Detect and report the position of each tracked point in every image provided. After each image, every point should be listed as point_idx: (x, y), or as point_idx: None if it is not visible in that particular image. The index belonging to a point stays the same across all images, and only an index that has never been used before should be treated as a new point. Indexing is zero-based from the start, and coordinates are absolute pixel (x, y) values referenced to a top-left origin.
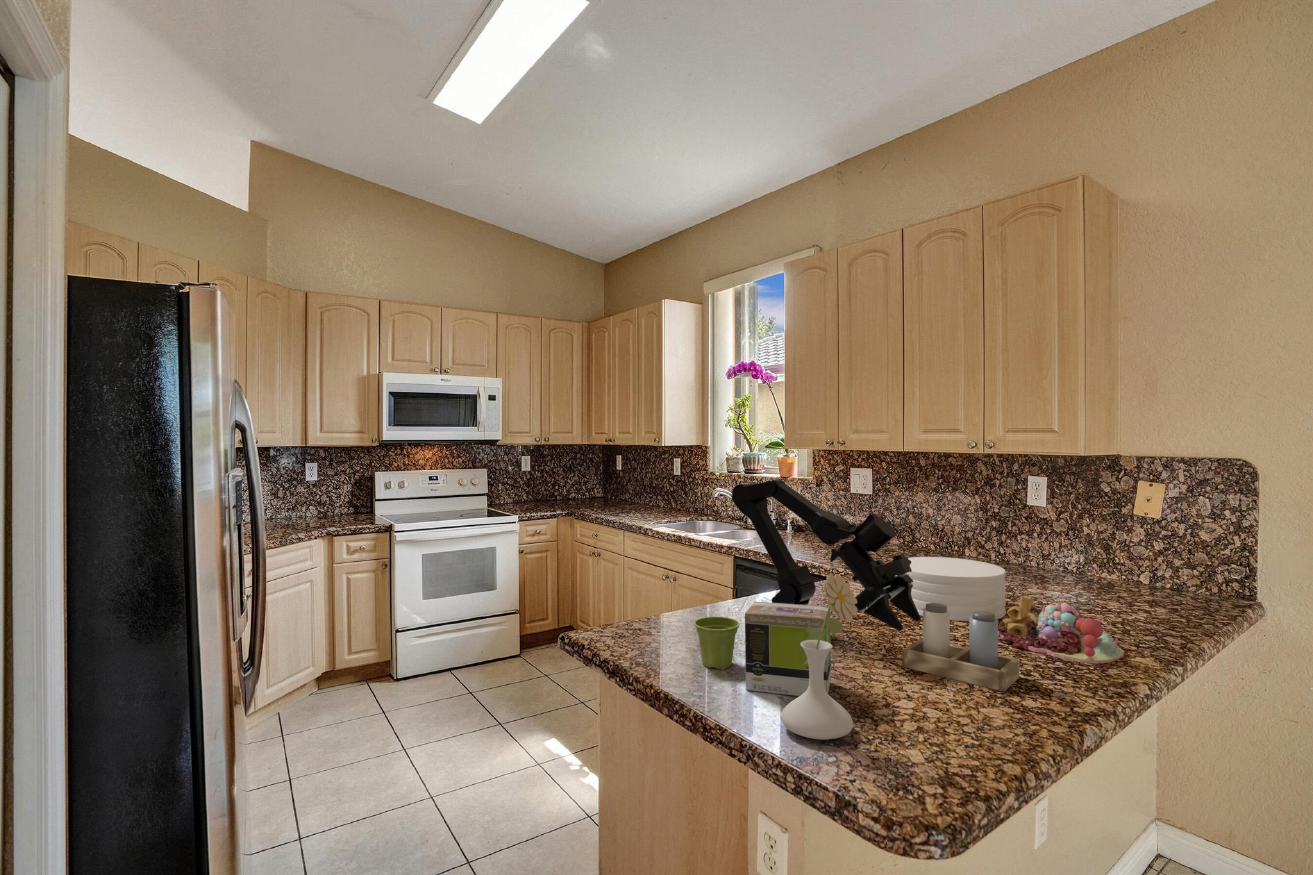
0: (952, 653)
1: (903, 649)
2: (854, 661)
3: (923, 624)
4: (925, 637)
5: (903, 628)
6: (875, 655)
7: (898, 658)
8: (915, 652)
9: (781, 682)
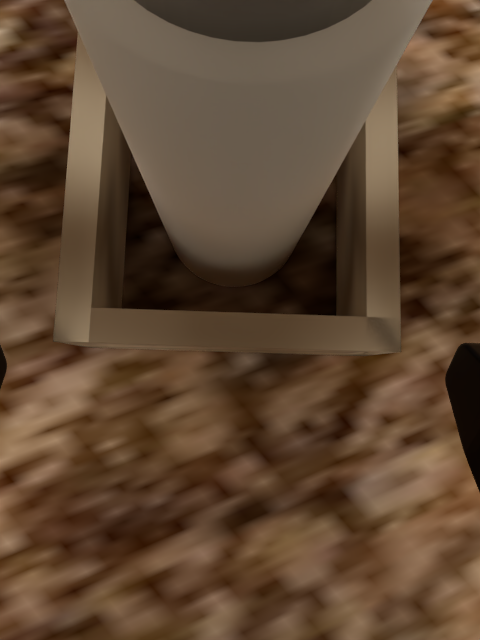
0: (117, 144)
1: (395, 348)
2: (471, 606)
3: (318, 174)
4: (323, 195)
5: (466, 343)
6: (285, 555)
7: (244, 427)
8: (397, 264)
9: None
